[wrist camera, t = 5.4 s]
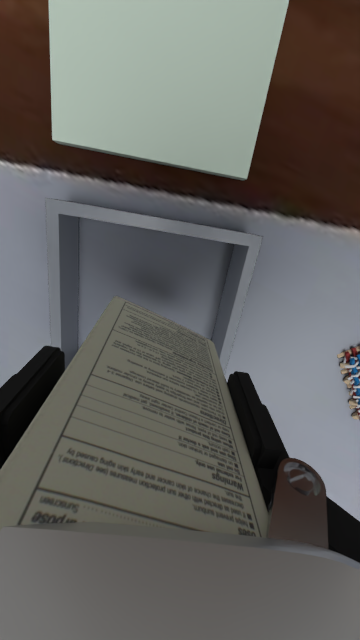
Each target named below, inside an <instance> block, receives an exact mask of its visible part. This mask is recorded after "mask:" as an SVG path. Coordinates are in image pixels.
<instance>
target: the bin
mask: <svg viewBox="0 0 360 640" xmlns="http://www.w3.org/2000/svg"><path fill="white" fill-rule="evenodd" d="M45 207H46V233H47V259H48V284H49V310H50V336H51V346H52V347H59V348H60V349H61V351H63V352H64V354H65V370H66V368H67V367H68V365H69V364H70V362H71V361H72V359H73V358H74V356H75V355H76V353H77V352H78V270H79V217H82V218H87V219H93V220H99V221H105V222H111V223H116V224H122V225H128V226H134V227H140V228H146V229H151V230H157V231H163V232H169V233H175V234H180V235H186V236H192V237H198V238H204V239H209V240H215V241H221V242H227V243H233V244H234V248H233V252H232V256H231V261H230V265H229V269H228V273H227V277H226V281H225V286H224V290H223V294H222V298H221V302H220V306H219V311H218V315H217V319H216V323H215V327H214V331H213V336H212V340H211V341H212V342H213V343H214V345H215V348H216V351H217V354H218V357H219V360H220V364H221V367H222V370H223V373H224V375H225V371H226V368H227V364H228V361H229V357H230V353H231V350H232V346H233V343H234V339H235V336H236V332H237V328H238V325H239V321H240V318H241V314H242V311H243V307H244V303H245V300H246V296H247V293H248V289H249V286H250V282H251V278H252V275H253V271H254V268H255V264H256V261H257V257H258V253H259V250H260V246H261V243H262V239H263V236H259V235H254V234H250V233H245V232H240V231H234V230H228V229H223V228H217V227H211V226H206V225H200V224H195V223H189V222H183V221H178V220H172V219H166V218H161V217H155V216H150V215H144V214H138V213H133V212H127V211H121V210H116V209H110V208H105V207H99V206H93V205H88V204H82V203H76V202H71V201H64V200H57V199H50V198H45Z"/></svg>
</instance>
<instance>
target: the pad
mask: <svg viewBox="0 0 360 640" xmlns="http://www.w3.org/2000/svg"><path fill="white" fill-rule="evenodd" d="M288 3H289V0H49V32H50V69H51V107H52V140H53V141H55V142H56V143H58V144H62V145H67V146H72V147H77V148H82V149H87V150H92V151H97V152H102V153H107V154H112V155H117V156H122V157H127V158H132V159H137V160H143V161H148V162H153V163H158V164H163V165H168V166H173V167H178V168H183V169H188V170H193V171H198V172H203V173H208V174H213V175H218V176H223V177H228V178H233V179H238V180H243V181H244V180H246V179H247V177H248V172H249V168H250V164H251V160H252V156H253V151H254V147H255V143H256V139H257V134H258V130H259V126H260V122H261V117H262V113H263V109H264V105H265V100H266V96H267V92H268V88H269V83H270V79H271V75H272V71H273V66H274V62H275V58H276V54H277V50H278V45H279V41H280V37H281V33H282V28H283V24H284V20H285V16H286V11H287V7H288Z"/></svg>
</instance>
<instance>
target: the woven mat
mask: <svg viewBox="0 0 360 640" xmlns="http://www.w3.org/2000/svg"><path fill="white" fill-rule="evenodd" d="M359 351H360V346H358V347H355V348H351V349H350V350H347V351H344V352H342V353H340V354H338V355H337V356H338V358H341V357H344V356H345V357H344V362H342V363H340V367H341V368H346V369H344V370H341V374H345V373H348V372H349V375H348V376H346V377H345V379H344V382H345V383H346V384H347V387H348V388H352V389H351V391H350V392H349V395H350V396H351V395H354V396H353V399H350V400H349V404H350V405H351V406H349V407H350V409H353V408H357V411H356V412H354V413H353V414H352V417H353V418H354V419H360V354H358V353H357V352H359ZM350 354H353V357H350Z"/></svg>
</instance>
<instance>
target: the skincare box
mask: <svg viewBox="0 0 360 640" xmlns="http://www.w3.org/2000/svg"><path fill="white" fill-rule="evenodd" d="M76 522H100V523H112V524H124V525H135V526H147V527H159V528H170V529H181V530H192V531H203V532H214V533H225V534H236V535H245V536H254V537H263V538H266V533H267V524H268V511H267V508H266V505H265V501H264V498H263V495H262V492H261V489H260V486H259V482H258V479H257V476H256V473H255V470H254V467H253V464H252V461H251V458H250V454H249V451H248V448H247V445H246V442H245V439H244V435H243V432H242V429H241V426H240V423H239V420H238V417H237V414H236V411H235V408H234V404H233V401H232V398H231V395H230V392H229V389H228V385H227V382H226V379H225V376H224V373H223V370H222V367H221V364H220V360H219V357H218V354H217V351H216V348H215V345H214V343H213V342H212V341H211V340H209V339H207V338H205V337H203V336H201V335H199V334H197V333H195V332H193V331H191V330H189V329H187V328H185V327H183V326H181V325H179V324H177V323H175V322H173V321H171V320H168V319H166V318H164V317H162V316H160V315H158V314H156V313H154V312H151V311H149V310H147V309H145V308H143V307H140V306H138V305H136V304H134V303H131V302H129V301H127V300H124V299H122V298H120V297H117V296H115V297H113V299H112V300H111V302H110V303H109V305H108V306H107V308H106V309H105V311H104V312H103V314H102V315H101V317H100V318H99V320H98V321H97V323H96V324H95V326H94V327H93V329H92V330H91V332H90V333H89V335H88V336H87V338H86V340H85V341H84V343H83V344H82V346H81V347H80V349H79V350H78V352H77V353H76V355H75V356H74V358H73V359H72V361H71V362H70V364H69V365H68V367H67V368H66V370H65V371H64V373H63V375H62V376H61V378H60V379H59V381H58V382H57V384H56V385H55V387H54V388H53V390H52V391H51V393H50V394H49V396H48V398H47V399H46V401H45V402H44V404H43V405H42V407H41V408H40V410H39V411H38V413H37V414H36V416H35V417H34V419H33V421H32V422H31V424H30V425H29V427H28V428H27V430H26V431H25V433H24V434H23V436H22V437H21V439H20V441H19V442H18V444H17V445H16V447H15V448H14V450H13V451H12V453H11V454H10V456H9V457H8V459H7V460H6V462H5V463H4V465H3V466H2V468H1V469H0V531H1V529H2V527H4V526H16V525H28V524H47V523H76Z"/></svg>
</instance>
